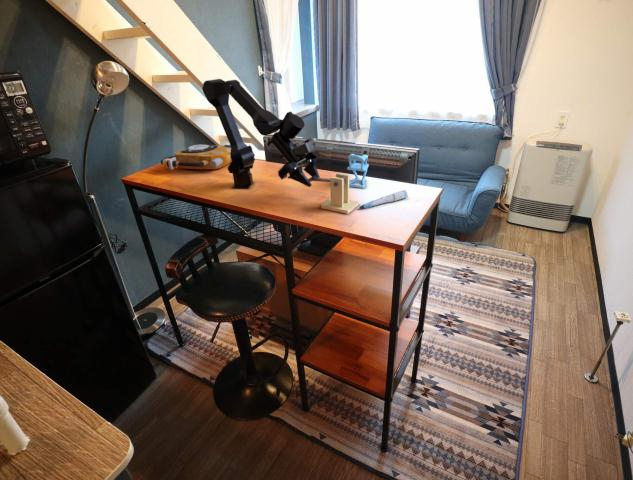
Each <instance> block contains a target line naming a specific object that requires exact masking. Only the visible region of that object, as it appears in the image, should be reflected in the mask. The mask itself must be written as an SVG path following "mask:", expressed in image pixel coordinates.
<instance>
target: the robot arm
mask: <svg viewBox="0 0 633 480" xmlns="http://www.w3.org/2000/svg"><path fill="white" fill-rule="evenodd" d="M201 90H202V93H203V94H204V95H203V96H205V98H206V100H207V102H208V103H209V104H210V105H212V106H213V107H214V109H215V111H216V113H217V115H218V117H219V121H220V123H221V126H222V128H223V130H224V133H225V136H226V138H227V140H228V143H229V145H230V146H231V152H230V157H231V160H232V162H230V163H229V164H228V166H227V170H228V171H227V172H228V173H229V174H232V179H233V185H232V188H233V189H250V187H251V186H252V185H253V184H254V179H253V173H252V172H251V170H252V169H253V168H254V163H255V161H256V158H255V156H256V154H255V153H254V151H253V147H252V146H251V145H248V144H246V143H245V141H244V140H243V138H242V135H241V133H240V129H239V127H238V125H237V122H236V119H235V116H234V114H233V112H232V110H231V107H230V104H229V102H230V97H231V98H232V99H233V100H234V101H235V102H236V103H237V104H238V105H239V107H240V108H241V109H243V110H244V111H245V112H246V114H248V116H249V117H250V118H251V119H252V120H251V121H252V123H253V127H254V128H255V129H256V130H257V132H258V133H259V134H260V135H261V136H269V135H271V134H272V136H269V137H268V138H267V142H266V144H267V145H266V146H267V147H271V146H273V147H275V149H276V150H277V151H278V152H279V154H280V156H279V158H280V159H281V160H283V159H284V160H285V161H286V163H284V164H283V165H282V166H281V167H280V169H279V170H278V171H277V175H278V177H279V179H280V180H284V179H286V178H287V179H288V180H290V179H291V180H292V181H295V182H297V183H299V184H302V185H304V186H306V187H308V188H311V187H312V183H311V182H310V181H309V180H308V179H309V178H308V177H307V175H305V173H306V174H308V175H309V176H310V177H312V176H314V175H317V178H321V177H320V174H319V171H318V168H317V165H316V162H317V160H318V158H319V156H321V153H320V152H319V151H318V150H317V149H316V148H315V147H316V142H315V141H314V140H313V138H311V137H310V138H307V139H305V140H304V143H303V144H300V143H298V142H296V143H294V141H293V140H294V139H296V137H297V136H298V135H299V134H300V132H301V131H302V130H303V129H304V128H305V126H306V125H305V121H304V119H303V118H302V117H300V116H299V115H298V114H295V113H293V112H292V111H288V112H286V114H285V115H284V117H283V119H280V118H279V117H277V115H275V114H274V113H272V112H271V111H270V110H267V109H266V108H264V107H262V106H261V105H260V104H259V103H258V102H257V101H256V100H255V99H254V97H253V96H251V94H250V93H249V92H248V91H247V90H246V89H245V88H244V87H243V86H242V85H241V83H240V81H239V80H237V79H229V80H223V79H221V78H216V79H207V80H205V81H203V84H202V88H201ZM301 162H302V163H301ZM297 164H298V165H297ZM302 165H303V167H304V168H303V167H302ZM304 172H305V173H304Z"/></svg>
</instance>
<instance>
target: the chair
mask: <svg viewBox="0 0 633 480" xmlns="http://www.w3.org/2000/svg"><path fill="white" fill-rule="evenodd" d="M368 158H369V155H367V154H363V155H359V154H355V153H350V154H349V155H348V157H347V160H348V163H349V165H348V166H347V168H346V170H347V171H352V172H353V173H352V174H354V177H355V178H353V179H351V180H349V188H358V189H365V188H366V175H367V172H368V170H369V169H368V168H369V167H370V164H369V163H368ZM357 171H358V172H363V175H362V178H361V184H355V183H356V182H358V181H359V180H360V179H359V178H360V177H359V176H358V173H357Z"/></svg>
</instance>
